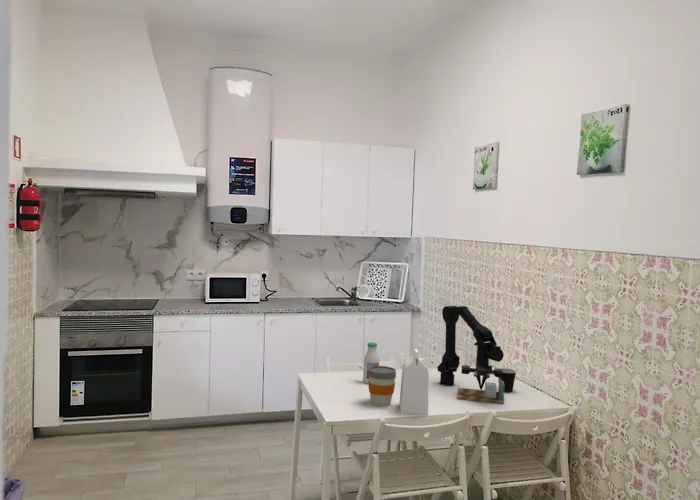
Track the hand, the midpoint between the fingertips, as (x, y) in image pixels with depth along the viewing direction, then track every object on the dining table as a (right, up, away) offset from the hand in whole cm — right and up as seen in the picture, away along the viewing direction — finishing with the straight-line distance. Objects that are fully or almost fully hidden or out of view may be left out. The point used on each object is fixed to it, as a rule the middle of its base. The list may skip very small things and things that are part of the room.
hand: (480, 389), depth 265 cm
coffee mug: (+16, -4, +15) cm, 22 cm away
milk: (-34, -4, -20) cm, 40 cm away
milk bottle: (-51, -1, +18) cm, 54 cm away
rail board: (0, -4, 0) cm, 4 cm away
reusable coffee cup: (-48, -3, -13) cm, 50 cm away
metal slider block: (+4, -3, -1) cm, 5 cm away
